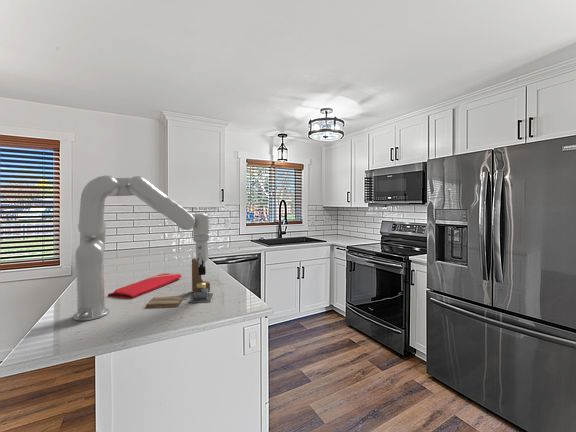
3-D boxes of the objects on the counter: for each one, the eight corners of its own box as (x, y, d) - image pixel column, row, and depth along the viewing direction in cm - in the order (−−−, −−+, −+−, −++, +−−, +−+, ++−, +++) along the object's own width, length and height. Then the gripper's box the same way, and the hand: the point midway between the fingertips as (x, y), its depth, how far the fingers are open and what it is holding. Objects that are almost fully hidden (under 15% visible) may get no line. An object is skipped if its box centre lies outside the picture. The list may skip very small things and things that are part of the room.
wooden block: (208, 289, 162) (208, 257, 161) (210, 291, 158) (209, 258, 157) (192, 291, 159) (191, 258, 158) (192, 293, 154) (192, 259, 154)
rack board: (178, 306, 134) (178, 303, 134) (146, 307, 132) (146, 304, 132) (183, 298, 145) (183, 295, 145) (153, 300, 143) (153, 297, 143)
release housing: (210, 302, 140) (210, 293, 140) (188, 303, 139) (188, 294, 139) (212, 294, 152) (212, 286, 152) (193, 295, 151) (193, 287, 151)
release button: (205, 288, 144) (205, 284, 144) (196, 289, 143) (196, 284, 143) (206, 286, 148) (206, 282, 148) (197, 286, 147) (197, 282, 147)
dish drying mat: (107, 297, 149) (106, 290, 149) (161, 278, 188) (161, 272, 188) (132, 300, 145) (132, 292, 145) (182, 279, 184) (182, 274, 184)
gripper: (207, 239, 138) (208, 278, 139) (210, 236, 153) (211, 270, 153) (190, 240, 137) (191, 278, 137) (195, 236, 151) (196, 271, 152)
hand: (202, 274), depth 145 cm, fingers closed
